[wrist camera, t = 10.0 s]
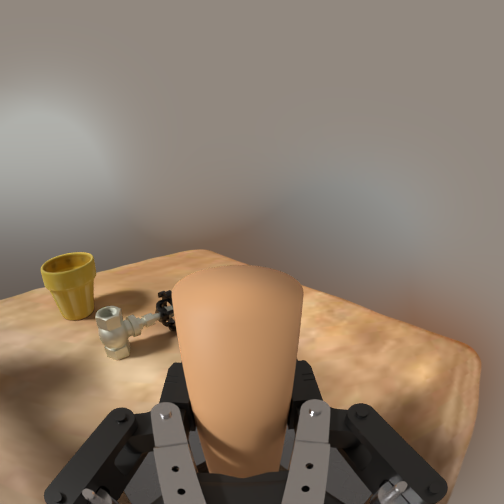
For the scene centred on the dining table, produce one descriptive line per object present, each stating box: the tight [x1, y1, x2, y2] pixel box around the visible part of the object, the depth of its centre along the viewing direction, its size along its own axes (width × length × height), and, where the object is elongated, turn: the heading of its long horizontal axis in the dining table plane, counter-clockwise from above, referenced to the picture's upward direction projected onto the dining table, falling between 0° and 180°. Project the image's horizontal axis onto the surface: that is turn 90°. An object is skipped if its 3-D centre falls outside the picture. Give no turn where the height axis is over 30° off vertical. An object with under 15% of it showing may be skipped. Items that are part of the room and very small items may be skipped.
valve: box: [95, 290, 177, 360], centre depth 34 cm, size 7×7×12 cm
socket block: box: [124, 425, 372, 504], centre depth 15 cm, size 16×16×4 cm
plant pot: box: [41, 252, 96, 320], centre depth 40 cm, size 10×10×10 cm
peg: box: [172, 265, 303, 478], centre depth 11 cm, size 4×4×15 cm
